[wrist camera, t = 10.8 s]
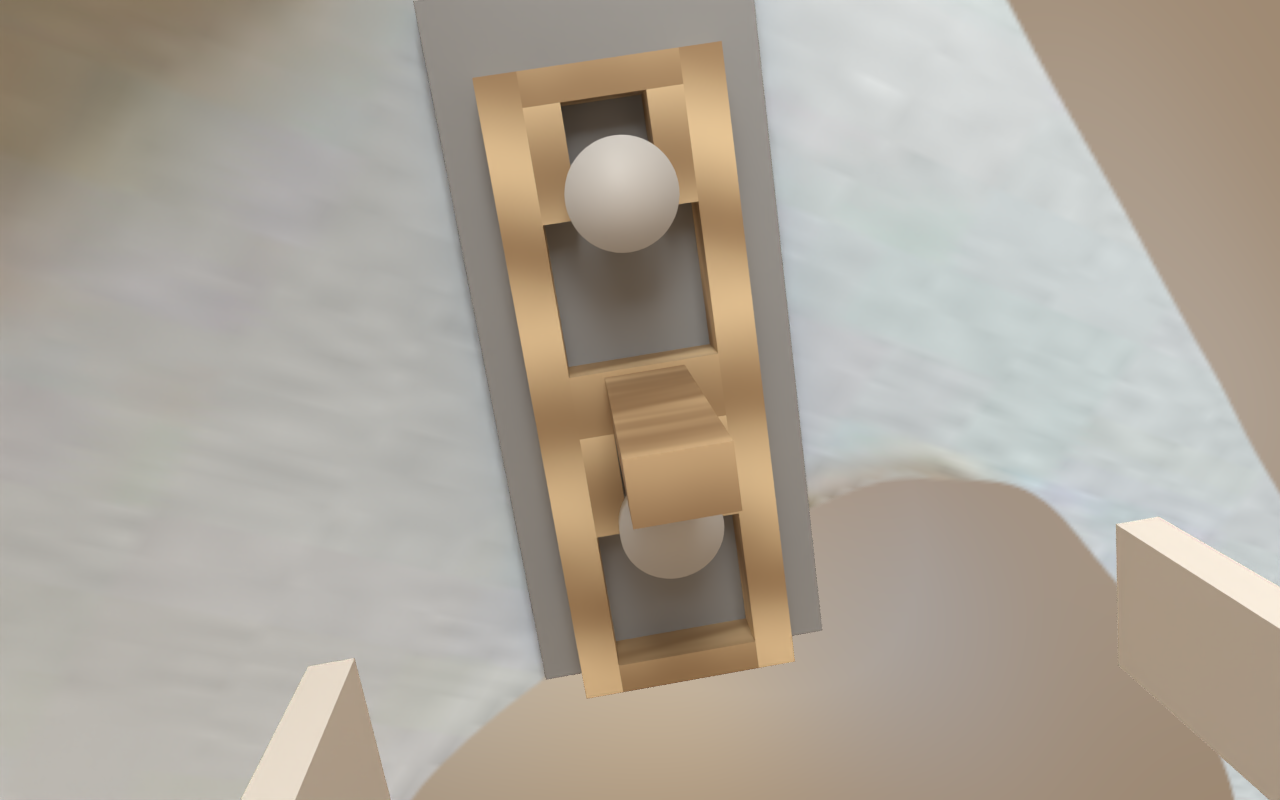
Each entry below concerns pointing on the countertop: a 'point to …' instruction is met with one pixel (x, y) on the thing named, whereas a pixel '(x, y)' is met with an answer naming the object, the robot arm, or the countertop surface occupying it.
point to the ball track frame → (643, 367)
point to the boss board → (620, 290)
